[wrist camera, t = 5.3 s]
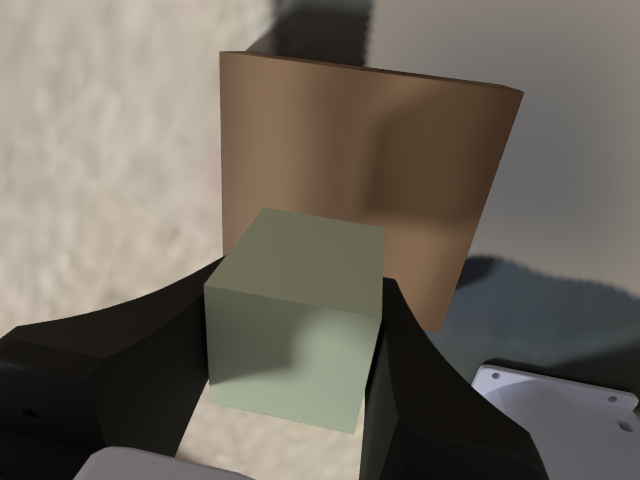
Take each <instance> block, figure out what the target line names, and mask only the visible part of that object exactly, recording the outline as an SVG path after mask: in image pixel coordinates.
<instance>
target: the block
mask: <svg viewBox="0 0 640 480" xmlns="http://www.w3.org/2000/svg"><path fill="white" fill-rule="evenodd" d="M383 242H384V227H378V226H372V225H366V224H360V223H354V222H348V221H342V220H336V219H330V218H324V217H318V216H312V215H306V214H300V213H294V212H288V211H282V210H276V209H270V208H263V209H262V210H261V212H260V213H259V214H258V215H257V217H256V218H255V219H254V221H253V222H252V223H251V224H250V226H249V227H248V228H247V230H246V231H245V232H244V233H243V235H242V236H241V237H240V239H239V240H238V241H237V243H236V244H235V245H234V246H233V248H232V249H231V250H230V252H229V253H228V254H227V255H226V257H225V258H224V259H223V261H222V262H221V263H220V264H219V266H218V267H217V268H216V270H215V271H214V272H213V273H212V275H211V276H210V277H209V279H208V280H207V281H206V283H205V284H204V299H205V316H206V334H207V352H208V369H209V387H210V403H213V404H217V405H222V406H226V407H231V408H236V409H240V410H245V411H249V412H254V413H258V414H263V415H267V416H272V417H276V418H281V419H286V420H290V421H295V422H299V423H304V424H308V425H313V426H317V427H322V428H327V429H331V430H336V431H340V432H345V433H349V434H354V432H355V428H356V424H357V420H358V416H359V412H360V407H361V403H362V399H363V395H364V391H365V386H366V382H367V378H368V374H369V370H370V365H371V361H372V357H373V353H374V349H375V345H376V340H377V336H378V332H379V328H380V324H381V319H382V286H383Z"/></svg>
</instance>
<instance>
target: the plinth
mask: <svg viewBox="0 0 640 480" xmlns="http://www.w3.org/2000/svg"><path fill="white" fill-rule="evenodd" d="M219 53H220V111H221V169H222V227H223V256H225V255H227V254H228V253H229V252H230V250H231V249H232V248H233V246H234V245H235V244H236V243H237V241H238V240H239V239H240V237H241V236H242V235H243V233H244V232H245V231H246V230H247V228H248V227H249V226H250V224H251V223H252V222H253V221H254V219H255V218H256V217H257V215H258V214H259V213H260V212H261V210H262V209H263V208H270V209H276V210H282V211H288V212H294V213H300V214H306V215H312V216H318V217H324V218H330V219H336V220H342V221H348V222H354V223H360V224H366V225H372V226H378V227H384V242H383V277H387V278H393V279H395V280H396V281H397V283H398V285H399V288H400V290H401V292H402V294H403V296H404V298H405V300H406V302H407V304H408V306H409V308H410V309H411V311H412V313H413V315H414V316H415V318H416V320H417V321H418V323H419V325H420V326H421V328H422V329H424V330H429V331H435V332H440V331H441V328H442V325H443V322H444V319H445V317H446V314H447V311H448V308H449V305H450V302H451V300H452V297H453V294H454V291H455V288H456V285H457V282H458V280H459V277H460V274H461V271H462V268H463V265H464V262H465V260H466V257H467V254H468V251H469V248H470V245H471V242H472V239H473V237H474V234H475V231H476V228H477V225H478V222H479V220H480V217H481V214H482V211H483V208H484V205H485V202H486V200H487V197H488V194H489V191H490V188H491V185H492V183H493V180H494V177H495V174H496V171H497V168H498V165H499V162H500V160H501V157H502V154H503V151H504V148H505V146H506V143H507V140H508V137H509V134H510V131H511V129H512V126H513V123H514V120H515V117H516V114H517V111H518V109H519V106H520V103H521V100H522V97H523V94H524V92H523V91H520V90H517V89H513V88H510V87H507V86H504V85H498V84H491V83H483V82H475V81H467V80H459V79H452V78H444V77H437V76H430V75H422V74H415V73H407V72H399V71H392V70H384V69H377V68H369V67H361V66H354V65H346V64H339V63H331V62H323V61H316V60H308V59H301V58H293V57H285V56H278V55H270V54H263V53H255V52H247V51H224V52H219Z"/></svg>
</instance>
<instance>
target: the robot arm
mask: <svg viewBox="0 0 640 480" xmlns="http://www.w3.org/2000/svg"><path fill="white" fill-rule="evenodd" d="M225 257H226V255H225V256H223V257H221V258H220V259H218V260H216V261H214V262H213V263H211V264H209V265H207V266H206V267H204V268H202V269H200V270H198V271H197V272H195V273H193V274H191V275H189V276H187V277H185V278H183V279H181V280H179V281H177V282H175V283H173V284H171V285H169V286H167V287H164V288H162V289H160V290H157V291H155V292H153V293H150V294H147V295H145V296H142V297H140V298H137V299H134V300H131V301H128V302H125V303H121V304H118V305H115V306H112V307H109V308H105V309H102V310H98V311H94V312H90V313H86V314H82V315H77V316H73V317H69V318H64V319H59V320H53V321H47V322H41V323H35V324H29V325H22V326H17V327H15V328H14V329H13V330H11V331H10V332H9V333H7V334H6V335H5V336H3V337H2V338H1V339H0V480H255V479H253V478H250V477H248V476H245V475H243V474H240V473H237V472H233V471H229V470H224V469H220V468H216V467H212V466H207V465H203V464H199V463H195V462H190V461H186V460H182V459H178V458H174V457H175V455H176V452H177V450H178V447H179V445H180V442H181V440H182V438H183V435H184V433H185V430H186V428H187V426H188V423H189V421H190V419H191V416H192V414H193V412H194V409H195V407H196V405H197V403H198V400H199V398H200V396H201V394H202V392H203V389H204V387H205V385H206V383H207V381H208V379H209V369H208V352H207V334H206V316H205V299H204V284H205V283H206V281H207V280H208V279H209V277H210V276H211V275H212V273H213V272H214V271H215V270H216V268H217V267H218V266H219V264H220V263H221V262H222V261H223V259H224V258H225ZM494 373H497V374H494ZM638 402H639V401H638V399H637V397H636V396H635V395H634V394H632V393H629V392H624V391H619V390H614V389H609V388H604V387H599V386H594V385H589V384H584V383H579V382H574V381H569V380H564V379H559V378H554V377H549V376H544V375H539V374H534V373H529V372H524V371H519V370H514V369H509V368H504V367H499V366H494V365H487V364H486V365H482V366H481V367H480V368H479V369H478V372H477V374H476V376H475V378H474V381H473V383H472V385H470V384H469V383H468V382H467V381H466V380H465V379H464V378H463V377H462V376H461V375H460V374H459V373H458V372H457V371H456V370H455V369H454V368H453V367H452V366H451V365H450V364H449V363H448V362H447V361H446V359H445V358H444V357H443V356H442V355H441V354H440V352H439V351H438V350H437V349H436V347H435V346H434V345H433V344H432V342H431V341H430V339H429V338H428V337H427V335H426V334H425V332H424V331H423V329H422V328H421V326H420V325H419V323H418V321H417V320H416V318H415V316H414V315H413V313H412V311H411V309H410V308H409V306H408V304H407V302H406V300H405V298H404V296H403V294H402V292H401V290H400V288H399V285H398V283H397V281H396V280H395V279H393V278H387V277H383V286H382V319H381V324H380V328H379V332H378V336H377V340H376V345H375V349H374V353H373V357H372V361H371V365H370V370H369V374H368V378H367V382H366V386H365V417H364V430H363V441H362V452H361V463H360V474H359V480H640V421H639V419H638V418H637V416H636V415H635V413H634V412H633V410H634V408H635V407H636V406H637V404H638Z"/></svg>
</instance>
